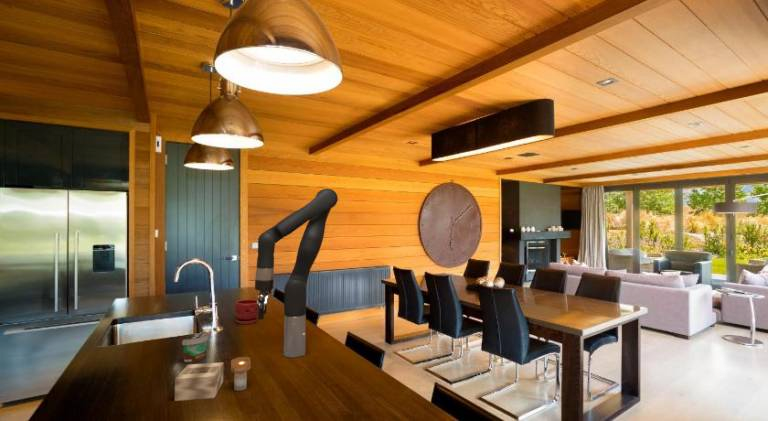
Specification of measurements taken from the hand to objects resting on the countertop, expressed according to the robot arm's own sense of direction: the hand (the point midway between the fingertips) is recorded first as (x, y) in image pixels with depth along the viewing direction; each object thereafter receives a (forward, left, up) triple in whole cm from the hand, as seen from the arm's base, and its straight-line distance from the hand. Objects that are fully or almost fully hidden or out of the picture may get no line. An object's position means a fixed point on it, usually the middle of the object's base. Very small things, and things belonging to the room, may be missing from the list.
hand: (262, 316), depth 155 cm
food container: (+25, -2, -18) cm, 31 cm away
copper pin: (+3, +28, -18) cm, 33 cm away
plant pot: (+15, -58, -18) cm, 63 cm away
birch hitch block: (+16, +28, -18) cm, 37 cm away
